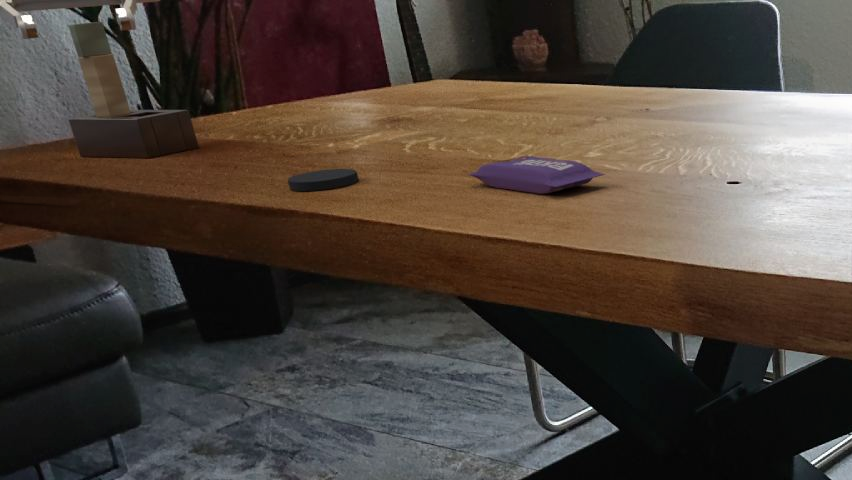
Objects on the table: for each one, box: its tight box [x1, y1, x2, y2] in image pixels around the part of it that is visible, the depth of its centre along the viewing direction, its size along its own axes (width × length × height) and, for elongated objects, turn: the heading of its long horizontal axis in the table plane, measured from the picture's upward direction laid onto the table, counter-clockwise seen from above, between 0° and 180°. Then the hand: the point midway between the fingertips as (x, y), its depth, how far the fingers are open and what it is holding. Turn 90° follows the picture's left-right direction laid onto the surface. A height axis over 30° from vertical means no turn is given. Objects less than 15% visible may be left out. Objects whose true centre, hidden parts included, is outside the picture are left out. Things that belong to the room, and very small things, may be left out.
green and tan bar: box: [68, 21, 131, 117], centre depth 117 cm, size 3×2×13 cm
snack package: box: [467, 155, 606, 195], centre depth 87 cm, size 12×2×5 cm
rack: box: [67, 109, 200, 159], centre depth 118 cm, size 6×11×4 cm, turn 67°
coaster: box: [287, 168, 359, 192], centre depth 94 cm, size 6×6×1 cm
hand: (80, 30), depth 120 cm, fingers open, 8 cm apart
